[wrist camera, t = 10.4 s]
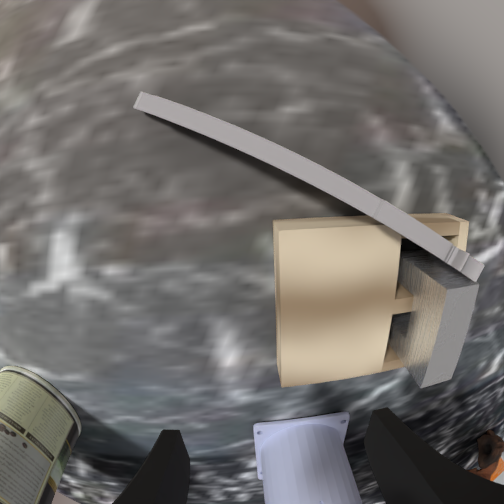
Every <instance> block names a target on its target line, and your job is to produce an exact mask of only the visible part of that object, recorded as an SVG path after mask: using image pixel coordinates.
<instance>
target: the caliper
mask: <svg viewBox="0 0 504 504" xmlns="http://www.w3.org/2000/svg"><path fill="white" fill-rule="evenodd" d="M133 108H135V109H138V110H141V111H144V112H146V113H149V114H152V115H155V116H157V117H160V118H162V119H165V120H168V121H170V122H173V123H175V124H178V125H180V126H183V127H185V128H188V129H190V130H193V131H195V132H198V133H200V134H203V135H205V136H207V137H210V138H212V139H215V140H217V141H219V142H222V143H224V144H226V145H228V146H231V147H233V148H235V149H238V150H240V151H242V152H244V153H246V154H249V155H251V156H253V157H255V158H257V159H260V160H262V161H264V162H266V163H268V164H270V165H272V166H274V167H277V168H279V169H281V170H283V171H285V172H287V173H289V174H291V175H293V176H295V177H297V178H299V179H301V180H303V181H305V182H307V183H309V184H311V185H313V186H315V187H317V188H319V189H321V190H322V191H324V192H326V193H328V194H330V195H332V196H334V197H336V198H338V199H339V200H341V201H343V202H345V203H347V204H349V205H351V206H352V207H354V208H356V209H358V210H360V211H361V212H363V213H365V214H366V215H368V216H370V217H372V218H373V219H375V220H377V221H379V222H380V223H382V224H384V225H386V226H387V227H389V228H391V229H393V230H394V231H396V232H398V233H399V234H401V235H403V236H404V237H406V238H407V239H409V240H410V241H412V242H413V243H415V244H417V245H418V246H420V247H422V248H423V249H425V250H427V251H428V252H429V253H431V254H432V255H434V256H436V257H437V258H439V259H440V260H442V261H444V262H445V263H447V264H448V265H450V266H451V267H453V268H455V269H456V270H458V271H459V272H461V273H462V274H464V275H465V276H467V277H468V278H470V279H471V280H473V281H474V282H476V281H477V279H478V277H479V275H480V273H481V271H482V270H483V268H484V266H485V265H484V264H482V263H481V262H479V261H477V260H476V259H474V258H472V257H471V256H470V254H469V253H467V252H465V251H463V250H461V249H459V248H457V247H455V246H454V245H453V244H452V243H451V242H449V241H448V240H446V239H445V238H443V237H442V236H440V235H439V234H437V233H436V232H434V231H433V230H431V229H430V228H428V227H427V226H425V225H424V224H422V223H421V222H419V221H417V220H416V219H414V218H413V217H411V216H410V215H408V214H406V213H405V212H403V211H402V210H400V209H398V208H397V207H395V206H393V205H392V204H390V203H388V202H387V201H385V200H383V199H380V198H379V197H377V196H375V195H373V194H372V193H370V192H368V191H366V190H365V189H363V188H361V187H359V186H358V185H356V184H354V183H352V182H350V181H349V180H347V179H345V178H343V177H341V176H339V175H338V174H336V173H334V172H332V171H330V170H328V169H326V168H324V167H322V166H320V165H318V164H316V163H315V162H313V161H311V160H309V159H307V158H305V157H303V156H301V155H298V154H296V153H294V152H292V151H290V150H288V149H286V148H284V147H282V146H280V145H278V144H275V143H273V142H271V141H269V140H267V139H265V138H262V137H260V136H258V135H256V134H253V133H251V132H249V131H246V130H244V129H242V128H239V127H237V126H235V125H232V124H230V123H228V122H225V121H223V120H220V119H218V118H215V117H213V116H210V115H208V114H205V113H203V112H200V111H197V110H195V109H192V108H189V107H187V106H184V105H181V104H178V103H176V102H173V101H170V100H167V99H164V98H161V97H158V96H156V95H155V96H153V95H150V94H147V93H144V92H140V94H139V96H138V98H137V101H136V103H135V105H134V107H133Z"/></svg>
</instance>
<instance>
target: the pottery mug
mask: <svg viewBox="0 0 504 504" xmlns="http://www.w3.org/2000/svg"><path fill="white" fill-rule="evenodd" d="M487 434H488V435H483V436H481V437H480V438H479V439H477V443H478V448H479V457H478V463H479V467H480V468H481V469H480V470H478V471H477V468H474V469H471V470H467V471H469V472H471V473H474V474H476V475H478V476H480V477H483V478H485V479H487V480H490V478H491V475H492V474H493V473H494V471H495V470H496V468H497V466H498V462H499V459H500V457H501V455H502V452H503V450H504V442H503V440H502V438H500V437H499V436H497V435H495V433H494V432H493V431H491V430H487Z"/></svg>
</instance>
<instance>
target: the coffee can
mask: <svg viewBox="0 0 504 504" xmlns="http://www.w3.org/2000/svg"><path fill="white" fill-rule="evenodd" d="M80 434H81V423H80V420H79V417H78V415H77V413H76V411H75V410H74V409H73V407H72V406H71V404H70V403H69V402H68V401H67V400H66V399H65V397H64V396H63V395H62V394H61V393H60V392H59V391H57V390H56V389H55V388H54V387H53V386H52V385H51V384H50V383H48V382H47V381H45V380H44V379H42V378H41V377H40V376H38V375H36V374H35V373H33V372H31V371H29V370H26V369H24V368H21V367H17V366H6V367H4V368H2V369H1V370H0V504H51V503H52V500H53V498H54V495H55V492H56V490H57V487H58V485H59V482H60V479H61V477H62V474H63V472H64V469H65V467H66V464H67V462H68V460H69V457H70V455H71V452H72V450H73V448H74V445H75V443H76V441H77V438H78V437H79V436H80Z"/></svg>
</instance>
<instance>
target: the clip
mask: <svg viewBox="0 0 504 504" xmlns="http://www.w3.org/2000/svg"><path fill="white" fill-rule="evenodd" d="M397 281H398V282H399V283H400V284H401V285H402V286H403V287H405V288H406V289H407V290H408V291H409V292H410V293H411V294H413V295H414V298H413V304H412V309H411V312H410V313H404V314H398V315H392V320H391V326H390V331H389V337H388V344H389V345H390V346H391V348H392V349H393V350H394V352H395V353H396V355H397V356H398V357H399V359H400V360H401V362H402V363H403V364H404V366H405V367H406V369H407V370H408V371H409V373H410V374H411V376H412V377H413V378H414V380H415V381H416V383H417V384H418V386H419V387H420V388H424V387H428V386H431V385H434V384H437V383H440V382H444V381H447V380H450V379H451V378H452V375H453V373H454V370H455V367H456V364H457V362H458V359H459V356H460V353H461V350H462V347H463V344H464V340H465V337H466V334H467V331H468V327H469V324H470V320H471V316H472V313H473V309H474V305H475V301H476V296H477V292H478V288H479V284H478V283H477V282H474V281H473V280H471V279H470V278H468V277H467V276H465V275H464V274H462V273H461V272H459V271H458V270H456V269H455V268H453V267H451V266H450V265H448V264H447V263H445V262H444V261H442V260H440V259H439V258H437V257H435V256H434V255H432V254H430V253H429V252H427V251H425V250H414V251H402V252H400V259H399V268H398V277H397Z"/></svg>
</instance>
